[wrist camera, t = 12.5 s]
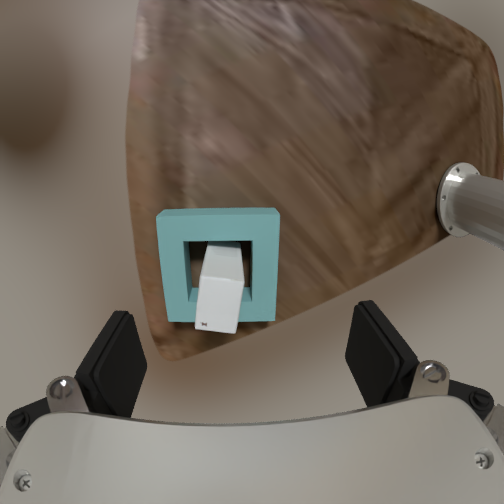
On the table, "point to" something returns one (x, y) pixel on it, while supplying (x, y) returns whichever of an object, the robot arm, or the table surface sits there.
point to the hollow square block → (219, 229)
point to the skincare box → (220, 288)
